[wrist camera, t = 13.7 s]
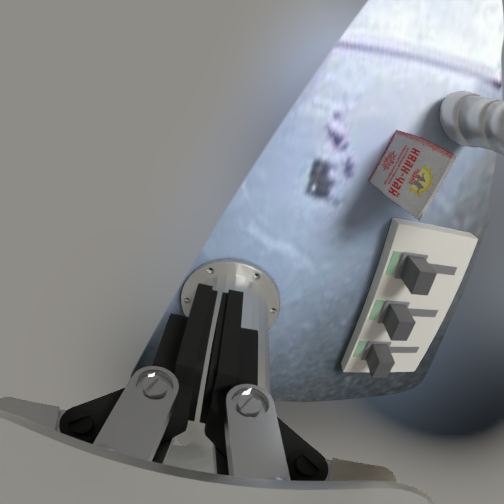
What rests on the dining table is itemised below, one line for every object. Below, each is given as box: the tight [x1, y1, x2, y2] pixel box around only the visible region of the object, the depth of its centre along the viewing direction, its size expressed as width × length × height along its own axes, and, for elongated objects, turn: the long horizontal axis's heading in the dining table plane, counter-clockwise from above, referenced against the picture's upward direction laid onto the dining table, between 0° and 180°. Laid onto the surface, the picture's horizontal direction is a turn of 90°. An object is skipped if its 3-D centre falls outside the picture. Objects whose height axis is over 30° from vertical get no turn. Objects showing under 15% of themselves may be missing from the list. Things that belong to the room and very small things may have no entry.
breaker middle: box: [377, 300, 416, 341], centre depth 37 cm, size 4×4×4 cm
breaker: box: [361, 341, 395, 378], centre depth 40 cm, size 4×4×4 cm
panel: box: [341, 217, 478, 372], centre depth 40 cm, size 24×13×2 cm, turn 173°
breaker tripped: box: [395, 252, 437, 295], centre depth 34 cm, size 4×4×4 cm
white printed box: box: [369, 130, 456, 221], centre depth 28 cm, size 4×7×10 cm, turn 155°
